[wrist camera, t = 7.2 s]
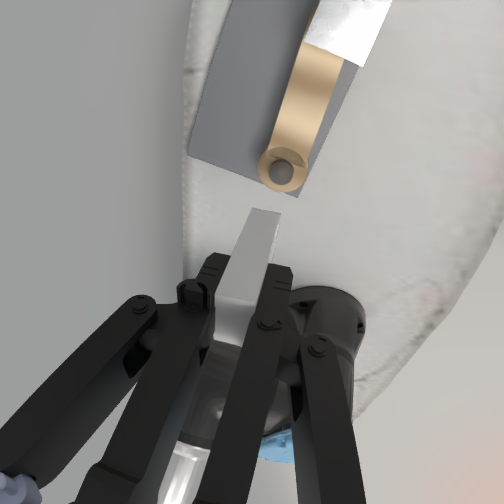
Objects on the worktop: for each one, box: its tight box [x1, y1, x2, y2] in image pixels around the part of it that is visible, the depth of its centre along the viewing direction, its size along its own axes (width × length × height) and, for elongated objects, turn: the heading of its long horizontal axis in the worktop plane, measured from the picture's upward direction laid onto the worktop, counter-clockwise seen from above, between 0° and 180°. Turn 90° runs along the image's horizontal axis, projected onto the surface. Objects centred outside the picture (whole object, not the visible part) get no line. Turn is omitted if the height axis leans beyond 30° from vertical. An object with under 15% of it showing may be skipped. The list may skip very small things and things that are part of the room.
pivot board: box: [187, 0, 359, 198], centre depth 28 cm, size 29×14×1 cm, turn 162°
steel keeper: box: [304, 0, 392, 67], centre depth 21 cm, size 8×5×8 cm, turn 162°
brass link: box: [258, 4, 345, 192], centre depth 27 cm, size 20×5×4 cm, turn 165°
